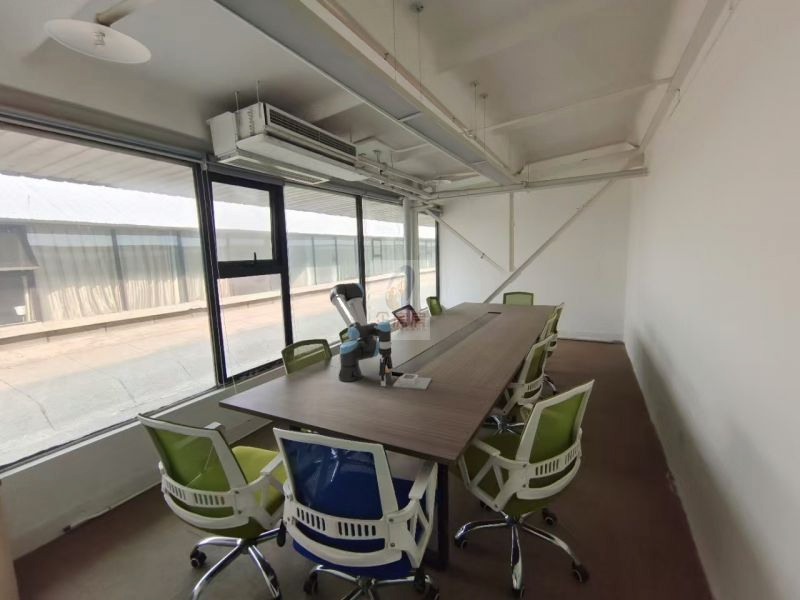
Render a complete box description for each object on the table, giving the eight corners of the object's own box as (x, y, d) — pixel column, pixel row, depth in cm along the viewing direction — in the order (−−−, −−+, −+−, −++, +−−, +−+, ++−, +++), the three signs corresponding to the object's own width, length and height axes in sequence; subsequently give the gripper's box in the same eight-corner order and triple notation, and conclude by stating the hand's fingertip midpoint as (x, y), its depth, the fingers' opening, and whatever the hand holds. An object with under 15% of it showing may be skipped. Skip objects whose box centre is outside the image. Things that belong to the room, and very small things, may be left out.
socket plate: (392, 386, 199) (392, 380, 198) (400, 377, 214) (400, 371, 213) (425, 389, 193) (425, 382, 192) (431, 379, 208) (431, 373, 208)
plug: (381, 383, 205) (381, 370, 204) (383, 381, 209) (383, 368, 208) (389, 384, 203) (388, 371, 202) (391, 381, 207) (390, 369, 206)
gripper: (384, 353, 191) (386, 389, 194) (396, 343, 214) (397, 376, 216) (372, 352, 193) (374, 389, 196) (385, 342, 216) (386, 375, 218)
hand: (386, 382), depth 206 cm, fingers open, 11 cm apart
